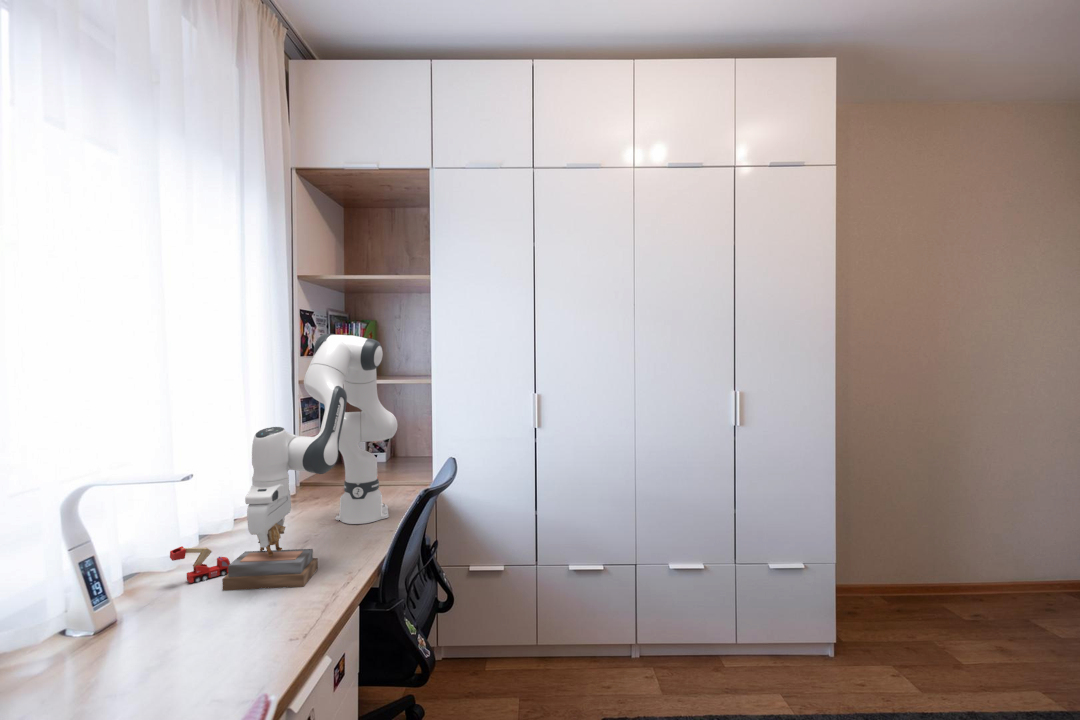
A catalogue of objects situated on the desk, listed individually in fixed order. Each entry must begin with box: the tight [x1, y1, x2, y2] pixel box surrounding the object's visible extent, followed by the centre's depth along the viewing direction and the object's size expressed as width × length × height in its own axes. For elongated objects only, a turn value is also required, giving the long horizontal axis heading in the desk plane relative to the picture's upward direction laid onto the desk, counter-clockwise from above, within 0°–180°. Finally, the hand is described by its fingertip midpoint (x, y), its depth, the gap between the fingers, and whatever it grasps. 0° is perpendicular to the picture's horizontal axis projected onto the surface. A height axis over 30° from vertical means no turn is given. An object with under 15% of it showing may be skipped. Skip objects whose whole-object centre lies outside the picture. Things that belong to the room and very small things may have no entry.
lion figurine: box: [256, 523, 286, 557], centre depth 150 cm, size 15×5×9 cm, turn 52°
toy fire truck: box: [169, 546, 231, 584], centre depth 148 cm, size 3×14×10 cm, turn 135°
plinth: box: [221, 548, 319, 591], centre depth 148 cm, size 12×20×6 cm, turn 95°
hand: (271, 540), depth 148 cm, fingers open, 8 cm apart
